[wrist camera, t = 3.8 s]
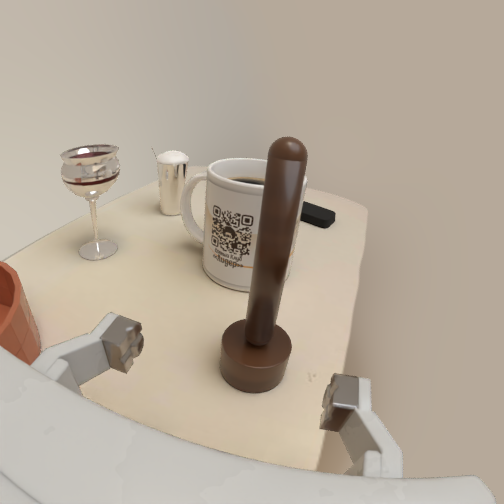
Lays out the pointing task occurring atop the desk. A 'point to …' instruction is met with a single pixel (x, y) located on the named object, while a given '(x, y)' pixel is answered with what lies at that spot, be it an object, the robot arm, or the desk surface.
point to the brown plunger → (267, 277)
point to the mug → (231, 219)
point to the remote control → (317, 215)
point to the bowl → (16, 318)
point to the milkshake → (171, 180)
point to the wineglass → (92, 187)
